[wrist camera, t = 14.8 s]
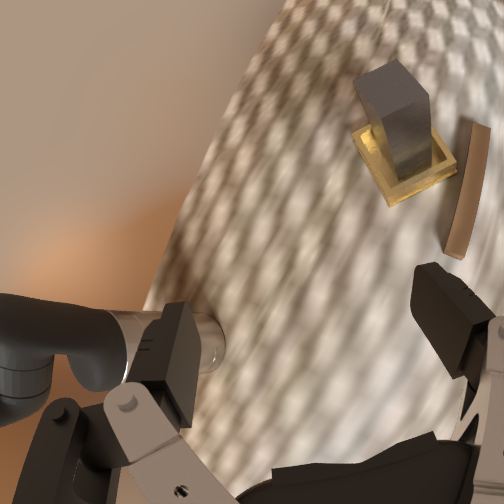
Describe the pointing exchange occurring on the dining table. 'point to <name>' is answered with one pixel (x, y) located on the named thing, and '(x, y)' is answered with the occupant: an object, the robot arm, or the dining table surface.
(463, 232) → the door edge strip
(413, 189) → the keeper
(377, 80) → the stop bar
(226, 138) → the dining table surface
